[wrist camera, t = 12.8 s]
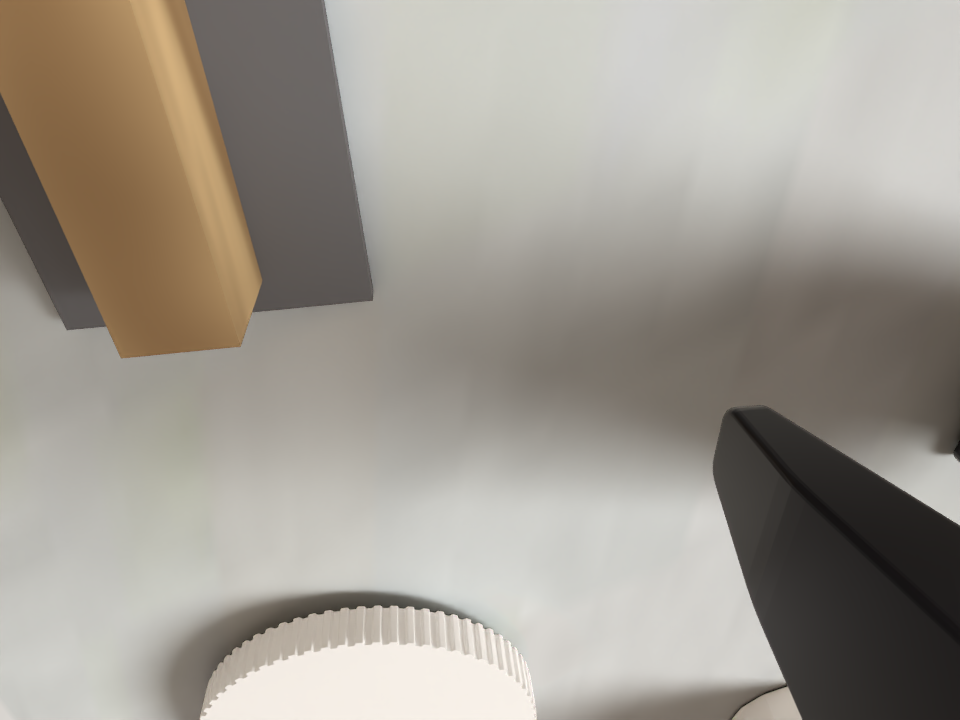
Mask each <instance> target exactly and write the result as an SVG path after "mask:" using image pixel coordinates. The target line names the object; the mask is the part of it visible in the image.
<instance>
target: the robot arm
mask: <svg viewBox="0 0 960 720" xmlns="http://www.w3.org/2000/svg"><path fill="white" fill-rule="evenodd" d="M954 457H955V458H956V459H957V460H958V461H959V462H960V440H959V442H958V444H957V446H956V448H955V450H954ZM713 476H714V481H715V485H716V488H717V491H718V494H719V498H720V501H721V504H722V507H723V511H724V514H725V517H726V520H727V524H728V527H729V530H730V534H731V537H732V540H733V543H734V547H735V550H736V553H737V556H738V560H739V563H740V566H741V569H742V573H743V576H744V579H745V582H746V586H747V589H748V591H749V594H750V597H751V600H752V603H753V606H754V609H755V611H756V614H757V616H758V618H759V621H760V623H761V626H762V628H763V631H764V633H765V635H766V637H767V640H768V642H769V644H770V647H771V649H772V651H773V654H774V656H775V658H776V660H777V663H778V665H779V667H780V670H781V672H782V674H783V677H784V679H785V681H786V684H787V686H788V688H789V690H790V693H791V695H792V697H793V700H794V702H795V704H796V707H797V709H798V711H799V713H800V716H801V718H802V720H960V525H958V524H956V523H955V522H953V521H952V520H950V519H948V518H947V517H945V516H943V515H942V514H940V513H939V512H937V511H935V510H934V509H932V508H931V507H929V506H927V505H926V504H924V503H922V502H921V501H919V500H918V499H916V498H914V497H913V496H911V495H910V494H908V493H906V492H905V491H903V490H901V489H900V488H898V487H897V486H895V485H893V484H892V483H890V482H889V481H887V480H885V479H884V478H882V477H880V476H879V475H877V474H876V473H874V472H872V471H871V470H869V469H868V468H866V467H864V466H863V465H861V464H859V463H858V462H856V461H855V460H853V459H851V458H850V457H848V456H847V455H845V454H843V453H842V452H840V451H838V450H837V449H835V448H834V447H832V446H830V445H829V444H827V443H826V442H824V441H822V440H821V439H819V438H817V437H816V436H814V435H813V434H811V433H809V432H808V431H806V430H805V429H803V428H801V427H800V426H798V425H796V424H795V423H793V422H792V421H790V420H788V419H787V418H785V417H784V416H782V415H780V414H779V413H777V412H775V411H774V410H772V409H770V408H768V407H766V406H760V405H757V406H744V407H733V408H731V409H729V410H727V411H726V413H725V414H724V417H723V420H722V424H721V429H720V433H719V437H718V442H717V446H716V451H715V455H714V460H713Z"/></svg>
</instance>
